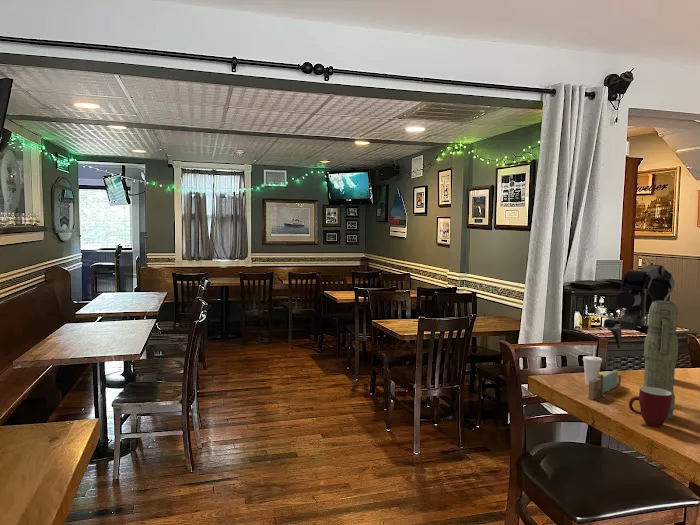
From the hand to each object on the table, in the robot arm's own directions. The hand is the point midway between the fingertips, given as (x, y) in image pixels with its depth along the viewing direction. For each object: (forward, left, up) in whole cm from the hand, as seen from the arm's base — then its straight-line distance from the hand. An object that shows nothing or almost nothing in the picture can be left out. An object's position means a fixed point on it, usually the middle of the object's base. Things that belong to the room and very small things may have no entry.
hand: (633, 350), depth 176 cm
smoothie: (+2, -13, -15) cm, 20 cm away
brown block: (+8, -6, -15) cm, 17 cm away
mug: (+29, +14, -15) cm, 35 cm away
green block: (+4, -5, -14) cm, 16 cm away
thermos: (+18, +13, -15) cm, 27 cm away
